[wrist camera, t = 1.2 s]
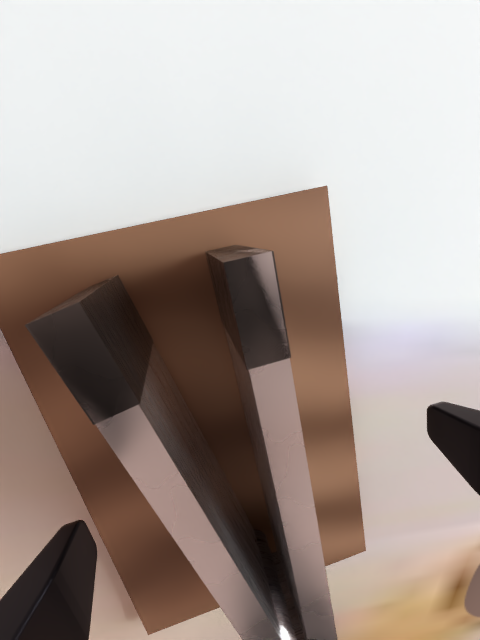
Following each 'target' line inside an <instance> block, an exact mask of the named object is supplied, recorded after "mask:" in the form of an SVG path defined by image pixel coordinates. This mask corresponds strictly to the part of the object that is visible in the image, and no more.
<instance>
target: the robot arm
mask: <svg viewBox="0 0 480 640" xmlns="http://www.w3.org/2000/svg"><path fill="white" fill-rule="evenodd" d="M427 432H428V435H429V437H430V439H431V440H432V441H433V443H434V444H435V445H436V446H437V447H438V448H439V450H440V451H441V452H442V453H443V454H444V455H445V457H446V458H447V459H448V460H449V461H450V462H451V464H452V465H453V466H454V467H455V468H456V469H457V471H458V472H459V473H460V474H461V475H462V476H463V478H464V479H465V480H466V481H467V482H468V484H469V485H470V486H471V487H472V488H473V489H474V490H475V491H476V492H477V493H478V494H479V495H480V411H479V410H475V409H471V408H467V407H463V406H459V405H455V404H451V403H447V402H439V403H436V404H432V405H430V406H428V408H427ZM96 561H97V547H96V544H95V541H94V539H93V537H92V535H91V533H90V531H89V529H88V527H87V525H86V523H85V522H84V521H83V520H78V521H75V522H72V523H69V524H66V525H64V526H63V527H61V528H60V530H59V531H58V532H57V533H56V534H55V535H54V537H53V538H52V539H51V540H50V541H49V543H48V544H47V545H46V546H45V547H44V549H43V550H42V551H41V552H40V553H39V555H38V556H37V557H36V558H35V559H34V560H33V562H32V563H31V564H30V565H29V566H28V568H27V569H26V570H25V571H24V572H23V574H22V575H21V576H20V577H19V578H18V580H17V581H16V582H15V583H14V584H13V586H12V587H11V588H10V589H9V590H8V591H7V593H6V594H5V595H4V596H3V597H2V599H1V600H0V640H88V639H89V630H90V622H91V612H92V601H93V591H94V581H95V571H96Z"/></svg>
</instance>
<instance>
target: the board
mask: <svg viewBox="0 0 480 640" xmlns="http://www.w3.org/2000/svg"><path fill="white" fill-rule="evenodd" d="M236 244H237V245H242V246H248V247H254V248H260V249H266V250H272V251H274V257H275V263H276V269H277V275H278V281H279V287H280V293H281V299H282V305H283V311H284V317H285V323H286V328H287V334H288V340H289V346H290V352H291V358H290V363H291V369H292V375H293V380H294V386H295V392H296V398H297V404H298V410H299V416H300V422H301V428H302V434H303V440H304V445H305V451H306V457H307V463H308V469H309V475H310V481H311V487H312V493H313V499H314V504H315V510H316V516H317V522H318V528H319V534H320V540H321V546H322V552H323V558H324V564H325V566H327V565H330V564H333V563H335V562H338V561H340V560H343V559H345V558H348V557H351V556H353V555H356V554H358V553H361V552H363V551H366V548H365V538H364V529H363V519H362V510H361V501H360V491H359V482H358V472H357V463H356V453H355V444H354V434H353V425H352V416H351V406H350V397H349V387H348V378H347V368H346V359H345V350H344V340H343V331H342V321H341V312H340V302H339V293H338V283H337V274H336V265H335V255H334V246H333V236H332V227H331V217H330V208H329V199H328V189H327V186H323V187H318V188H313V189H309V190H304V191H299V192H294V193H289V194H285V195H280V196H275V197H270V198H266V199H261V200H256V201H251V202H246V203H242V204H237V205H232V206H227V207H223V208H218V209H213V210H208V211H203V212H199V213H194V214H189V215H184V216H179V217H175V218H170V219H165V220H160V221H156V222H151V223H146V224H141V225H136V226H132V227H127V228H122V229H117V230H113V231H108V232H103V233H98V234H93V235H89V236H84V237H79V238H74V239H69V240H65V241H60V242H55V243H50V244H46V245H41V246H36V247H31V248H26V249H22V250H17V251H12V252H7V253H2V254H0V328H1V331H2V333H3V335H4V337H5V339H6V341H7V343H8V345H9V347H10V349H11V351H12V353H13V355H14V357H15V360H16V362H17V364H18V366H19V368H20V370H21V372H22V374H23V376H24V378H25V380H26V382H27V384H28V387H29V389H30V391H31V393H32V395H33V397H34V399H35V401H36V403H37V405H38V407H39V409H40V411H41V413H42V416H43V418H44V420H45V422H46V424H47V426H48V428H49V430H50V432H51V434H52V436H53V438H54V440H55V442H56V445H57V447H58V449H59V451H60V453H61V455H62V457H63V459H64V461H65V463H66V465H67V467H68V469H69V472H70V474H71V476H72V478H73V480H74V482H75V484H76V486H77V488H78V490H79V492H80V494H81V496H82V498H83V501H84V503H85V505H86V507H87V509H88V511H89V513H90V515H91V517H92V519H93V521H94V523H95V525H96V527H97V530H98V532H99V534H100V536H101V538H102V540H103V542H104V544H105V546H106V548H107V550H108V552H109V554H110V557H111V559H112V561H113V563H114V565H115V567H116V569H117V571H118V573H119V575H120V577H121V579H122V581H123V583H124V586H125V588H126V590H127V592H128V594H129V596H130V598H131V600H132V602H133V604H134V606H135V608H136V610H137V613H138V615H139V617H140V619H141V621H142V623H143V625H144V627H145V629H146V631H147V633H148V635H149V634H152V633H155V632H157V631H160V630H162V629H165V628H167V627H170V626H173V625H175V624H178V623H180V622H183V621H186V620H188V619H191V618H193V617H196V616H198V615H201V614H204V613H206V612H209V611H211V610H214V609H216V608H219V607H220V606H219V604H218V603H217V601H216V600H215V599H214V597H213V596H212V594H211V593H210V591H209V590H208V588H207V587H206V585H205V584H204V582H203V581H202V580H201V578H200V577H199V575H198V574H197V572H196V571H195V569H194V568H193V566H192V565H191V563H190V562H189V561H188V559H187V558H186V556H185V555H184V553H183V552H182V550H181V549H180V547H179V546H178V544H177V543H176V542H175V540H174V539H173V537H172V536H171V534H170V533H169V531H168V530H167V528H166V527H165V525H164V524H163V523H162V521H161V520H160V518H159V517H158V515H157V514H156V512H155V511H154V509H153V508H152V506H151V505H150V504H149V502H148V501H147V499H146V498H145V496H144V495H143V493H142V492H141V490H140V489H139V488H138V486H137V485H136V483H135V482H134V480H133V479H132V477H131V476H130V474H129V473H128V471H127V470H126V469H125V467H124V466H123V464H122V463H121V461H120V460H119V458H118V457H117V455H116V454H115V452H114V451H113V450H112V448H111V447H110V445H109V444H108V442H107V441H106V439H105V438H104V436H103V435H102V433H101V432H100V431H99V429H98V428H97V426H96V425H93V424H92V422H91V421H90V419H89V418H88V417H87V415H86V414H85V412H84V411H83V409H82V408H81V406H80V405H79V403H78V402H77V401H76V399H75V398H74V396H73V395H72V393H71V392H70V390H69V389H68V387H67V386H66V385H65V383H64V382H63V380H62V379H61V377H60V376H59V374H58V373H57V371H56V370H55V369H54V367H53V366H52V364H51V363H50V361H49V360H48V358H47V357H46V355H45V354H44V353H43V351H42V350H41V348H40V347H39V345H38V344H37V342H36V341H35V339H34V338H33V337H32V335H31V334H30V332H29V331H28V329H27V328H26V326H25V325H26V324H28V323H29V322H31V321H33V320H34V319H36V318H38V317H39V316H41V315H43V314H44V313H46V312H48V311H49V310H51V309H53V308H54V307H56V306H58V305H59V304H61V303H63V302H64V301H66V300H68V299H69V298H71V297H73V296H74V295H76V294H78V293H79V292H81V291H83V290H84V289H86V288H88V287H90V286H93V285H95V284H98V283H100V282H102V281H105V280H107V279H109V278H112V277H114V276H116V275H118V276H119V277H120V279H121V281H122V283H123V285H124V287H125V289H126V290H127V292H128V294H129V296H130V298H131V300H132V302H133V303H134V305H135V307H136V309H137V311H138V313H139V315H140V316H141V318H142V320H143V322H144V324H145V326H146V328H147V329H148V331H149V333H150V335H151V337H152V339H153V343H154V345H155V347H156V349H157V350H158V352H159V354H160V356H161V358H162V360H163V362H164V363H165V365H166V367H167V369H168V371H169V373H170V375H171V376H172V378H173V380H174V382H175V384H176V386H177V387H178V389H179V391H180V393H181V395H182V397H183V399H184V400H185V402H186V404H187V406H188V408H189V410H190V412H191V413H192V415H193V417H194V419H195V421H196V423H197V425H198V426H199V428H200V430H201V432H202V434H203V436H204V437H205V439H206V441H207V443H208V445H209V447H210V449H211V450H212V452H213V454H214V456H215V458H216V460H217V462H218V463H219V465H220V467H221V469H222V471H223V473H224V475H225V476H226V478H227V480H228V482H229V484H230V486H231V487H232V489H233V491H234V493H235V495H236V497H237V499H238V500H239V502H240V504H241V506H242V508H243V510H244V512H245V513H246V515H247V517H248V519H249V521H250V523H251V525H252V526H253V528H254V530H260V531H262V532H263V533H264V534H265V535H266V538H267V541H268V544H269V548H270V551H271V553H273V552H276V551H277V549H276V545H275V541H274V536H273V532H272V528H271V524H270V519H269V515H268V511H267V507H266V502H265V498H264V494H263V490H262V486H261V481H260V477H259V473H258V469H257V464H256V460H255V456H254V452H253V447H252V443H251V439H250V435H249V430H248V426H247V422H246V418H245V413H244V409H243V405H242V401H241V396H240V392H239V388H238V384H237V379H236V375H235V371H234V367H233V362H232V358H231V354H230V350H229V345H228V341H227V337H226V333H225V328H224V325H223V323H222V321H221V317H220V312H219V308H218V304H217V300H216V295H215V291H214V287H213V283H212V279H211V274H210V270H209V266H208V262H207V258H206V253H205V251H210V250H214V249H218V248H223V247H227V246H232V245H236Z"/></svg>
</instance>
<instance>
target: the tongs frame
mask: <svg viewBox="0 0 480 640" xmlns="http://www.w3.org/2000/svg"><path fill="white" fill-rule="evenodd" d="M205 253H206V258H207V262H208V266H209V270H210V274H211V279H212V283H213V287H214V291H215V295H216V300H217V304H218V308H219V312H220V317H221V321H222V323H223V325H224V328H225V333H226V337H227V341H228V345H229V350H230V354H231V358H232V362H233V367H234V371H235V375H236V379H237V384H238V388H239V392H240V396H241V401H242V405H243V409H244V413H245V418H246V422H247V426H248V430H249V435H250V439H251V443H252V447H253V452H254V456H255V460H256V464H257V469H258V473H259V477H260V481H261V486H262V490H263V494H264V498H265V502H266V507H267V511H268V515H269V519H270V524H271V528H272V532H273V536H274V541H275V545H276V549H277V551H276V552H273V553H271V554H272V558H273V561H274V565H275V568H276V571H277V575H278V578H279V581H280V585H281V588H282V591H283V595H284V598H285V602H286V605H287V608H288V612H289V615H290V618H291V622H292V625H293V628H294V632H295V635H296V639H297V640H337V634H336V628H335V623H334V617H333V611H332V605H331V599H330V593H329V587H328V581H327V575H326V569H325V564H324V558H323V552H322V546H321V540H320V534H319V528H318V522H317V516H316V510H315V504H314V499H313V493H312V487H311V481H310V475H309V469H308V463H307V457H306V451H305V445H304V440H303V434H302V428H301V422H300V416H299V410H298V404H297V398H296V392H295V386H294V380H293V375H292V369H291V363H290V358H291V352H290V346H289V340H288V334H287V328H286V323H285V317H284V311H283V305H282V299H281V293H280V287H279V281H278V275H277V269H276V263H275V257H274V251H272V250H266V249H260V248H254V247H248V246H242V245H237V244H236V245H232V246H227V247H223V248H218V249H214V250H210V251H205Z"/></svg>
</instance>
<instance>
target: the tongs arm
mask: <svg viewBox="0 0 480 640" xmlns="http://www.w3.org/2000/svg"><path fill="white" fill-rule="evenodd" d="M25 326H26V328H27V329H28V331H29V332H30V334H31V335H32V337H33V338H34V339H35V341H36V342H37V344H38V345H39V347H40V348H41V350H42V351H43V353H44V354H45V355H46V357H47V358H48V360H49V361H50V363H51V364H52V366H53V367H54V369H55V370H56V371H57V373H58V374H59V376H60V377H61V379H62V380H63V382H64V383H65V385H66V386H67V387H68V389H69V390H70V392H71V393H72V395H73V396H74V398H75V399H76V401H77V402H78V403H79V405H80V406H81V408H82V409H83V411H84V412H85V414H86V415H87V417H88V418H89V419H90V421H91V422H92V424H93V425H96V426H97V428H98V429H99V431H100V432H101V433H102V435H103V436H104V438H105V439H106V441H107V442H108V444H109V445H110V447H111V448H112V450H113V451H114V452H115V454H116V455H117V457H118V458H119V460H120V461H121V463H122V464H123V466H124V467H125V469H126V470H127V471H128V473H129V474H130V476H131V477H132V479H133V480H134V482H135V483H136V485H137V486H138V488H139V489H140V490H141V492H142V493H143V495H144V496H145V498H146V499H147V501H148V502H149V504H150V505H151V506H152V508H153V509H154V511H155V512H156V514H157V515H158V517H159V518H160V520H161V521H162V523H163V524H164V525H165V527H166V528H167V530H168V531H169V533H170V534H171V536H172V537H173V539H174V540H175V542H176V543H177V544H178V546H179V547H180V549H181V550H182V552H183V553H184V555H185V556H186V558H187V559H188V561H189V562H190V563H191V565H192V566H193V568H194V569H195V571H196V572H197V574H198V575H199V577H200V578H201V580H202V581H203V582H204V584H205V585H206V587H207V588H208V590H209V591H210V593H211V594H212V596H213V597H214V599H215V600H216V601H217V603H218V604H219V606H220V607H221V609H222V610H223V612H224V613H225V615H226V616H227V618H228V619H229V620H230V622H231V623H232V625H233V626H234V628H235V629H236V631H237V632H238V634H239V635H240V637H241V638H242V639H243V640H297V639H296V635H295V632H294V628H293V625H292V622H291V618H290V615H289V612H288V608H287V605H286V602H285V598H284V595H283V591H282V588H281V585H280V581H279V578H278V575H277V571H276V568H275V565H274V561H273V558H272V554H271V551H270V548H269V544H268V541H267V538H266V535H265V534H264V533H263V532H262V531H260V530H254V528H253V526H252V525H251V523H250V521H249V519H248V517H247V515H246V513H245V512H244V510H243V508H242V506H241V504H240V502H239V500H238V499H237V497H236V495H235V493H234V491H233V489H232V487H231V486H230V484H229V482H228V480H227V478H226V476H225V475H224V473H223V471H222V469H221V467H220V465H219V463H218V462H217V460H216V458H215V456H214V454H213V452H212V450H211V449H210V447H209V445H208V443H207V441H206V439H205V437H204V436H203V434H202V432H201V430H200V428H199V426H198V425H197V423H196V421H195V419H194V417H193V415H192V413H191V412H190V410H189V408H188V406H187V404H186V402H185V400H184V399H183V397H182V395H181V393H180V391H179V389H178V387H177V386H176V384H175V382H174V380H173V378H172V376H171V375H170V373H169V371H168V369H167V367H166V365H165V363H164V362H163V360H162V358H161V356H160V354H159V352H158V350H157V349H156V347H155V345H154V343H153V339H152V337H151V335H150V333H149V331H148V329H147V328H146V326H145V324H144V322H143V320H142V318H141V316H140V315H139V313H138V311H137V309H136V307H135V305H134V303H133V302H132V300H131V298H130V296H129V294H128V292H127V290H126V289H125V287H124V285H123V283H122V281H121V279H120V277H119V276H118V275H116V276H114V277H112V278H109V279H107V280H105V281H102V282H100V283H98V284H95V285H93V286H90V287H88V288H86V289H84V290H83V291H81V292H79V293H78V294H76V295H74V296H73V297H71V298H69V299H68V300H66V301H64V302H63V303H61V304H59V305H58V306H56V307H54V308H53V309H51V310H49V311H48V312H46V313H44V314H43V315H41V316H39V317H38V318H36V319H34V320H33V321H31V322H29V323H28V324H26V325H25Z"/></svg>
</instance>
